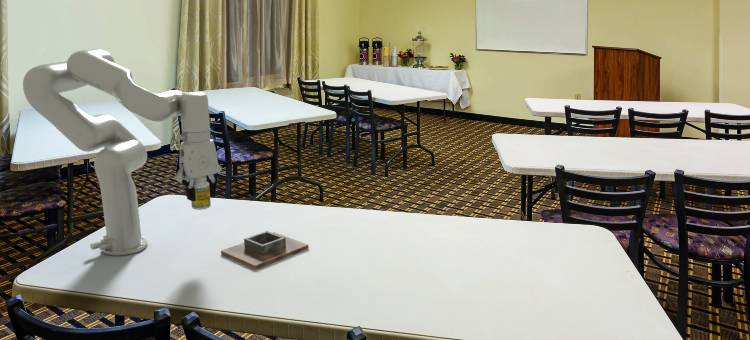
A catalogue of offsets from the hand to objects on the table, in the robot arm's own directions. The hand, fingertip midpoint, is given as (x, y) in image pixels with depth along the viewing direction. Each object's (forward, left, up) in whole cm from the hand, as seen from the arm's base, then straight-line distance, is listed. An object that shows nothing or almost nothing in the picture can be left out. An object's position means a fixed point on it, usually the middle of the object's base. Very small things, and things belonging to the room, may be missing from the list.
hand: (200, 197), depth 172 cm
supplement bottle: (0, 0, -3) cm, 3 cm away
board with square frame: (+12, -13, -17) cm, 25 cm away
